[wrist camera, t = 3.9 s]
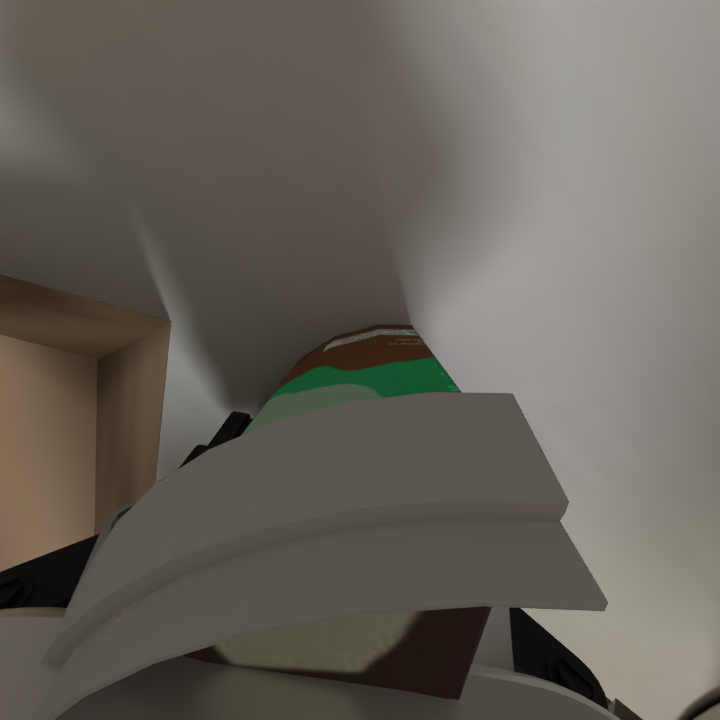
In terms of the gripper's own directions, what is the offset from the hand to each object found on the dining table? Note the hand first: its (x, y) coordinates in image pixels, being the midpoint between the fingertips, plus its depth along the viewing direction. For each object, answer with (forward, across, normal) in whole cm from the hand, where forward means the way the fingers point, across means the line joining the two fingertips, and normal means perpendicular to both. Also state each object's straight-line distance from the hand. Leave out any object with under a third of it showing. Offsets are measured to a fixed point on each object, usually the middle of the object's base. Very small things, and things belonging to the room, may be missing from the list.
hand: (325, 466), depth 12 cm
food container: (+2, +1, 0) cm, 2 cm away
